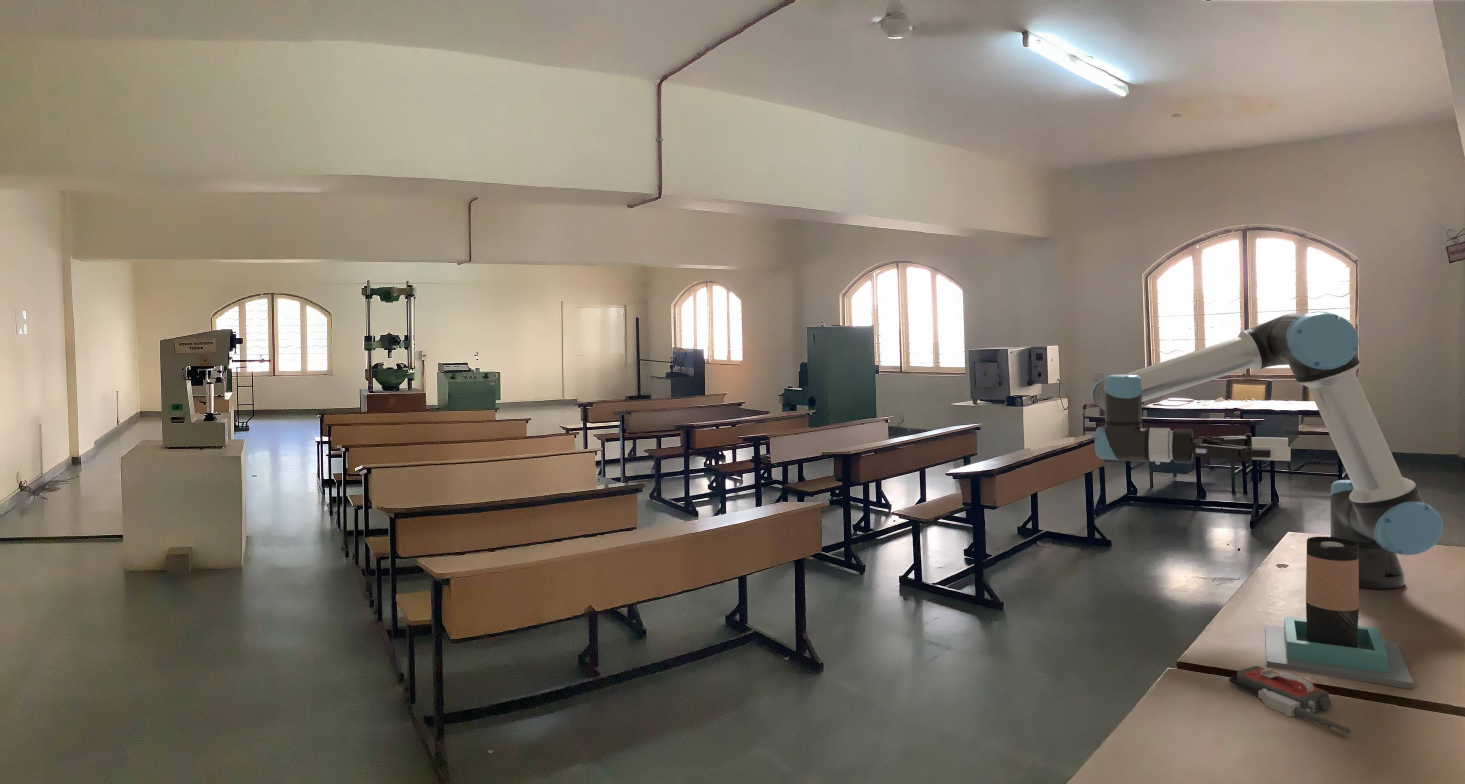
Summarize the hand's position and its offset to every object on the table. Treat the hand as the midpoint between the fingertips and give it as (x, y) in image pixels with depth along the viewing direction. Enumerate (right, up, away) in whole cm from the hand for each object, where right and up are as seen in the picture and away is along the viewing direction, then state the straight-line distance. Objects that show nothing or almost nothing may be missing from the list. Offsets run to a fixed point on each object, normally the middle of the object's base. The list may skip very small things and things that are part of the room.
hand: (1289, 449), depth 167 cm
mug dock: (-7, -36, -21) cm, 42 cm away
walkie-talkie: (-25, -39, -38) cm, 60 cm away
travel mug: (-7, -35, -21) cm, 41 cm away
